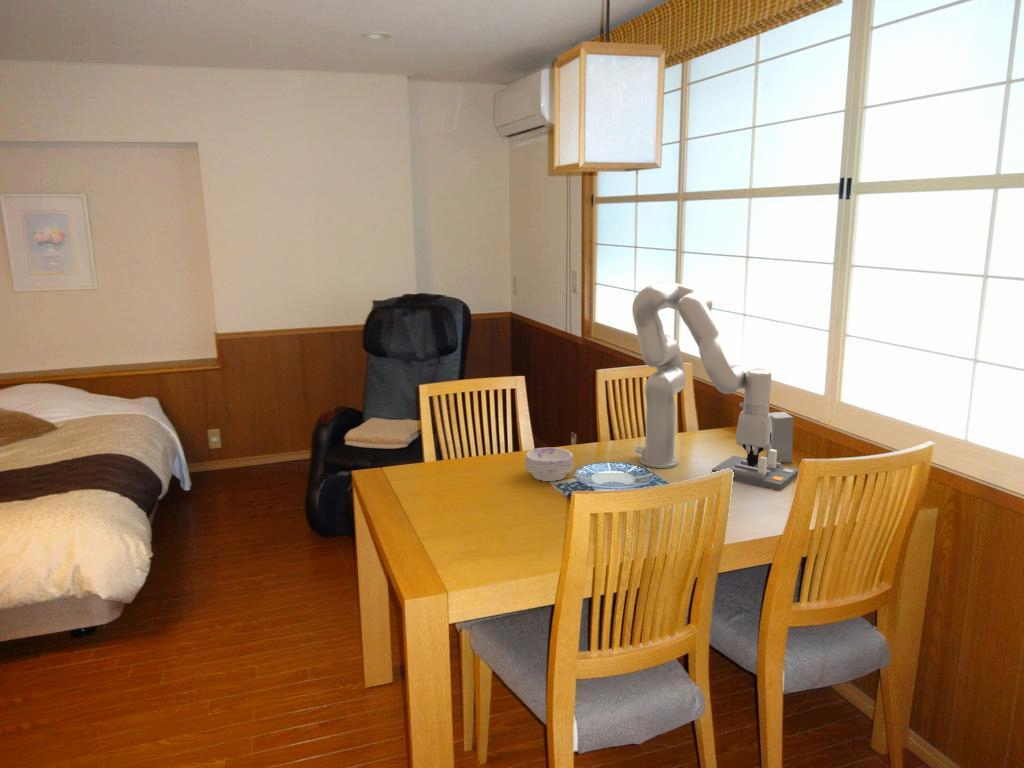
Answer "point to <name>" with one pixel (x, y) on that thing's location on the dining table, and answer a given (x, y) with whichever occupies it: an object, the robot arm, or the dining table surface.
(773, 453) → the breaker handle
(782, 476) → the breaker panel
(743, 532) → the dining table surface
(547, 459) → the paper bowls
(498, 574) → the dining table surface
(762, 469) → the block
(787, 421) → the skincare box
